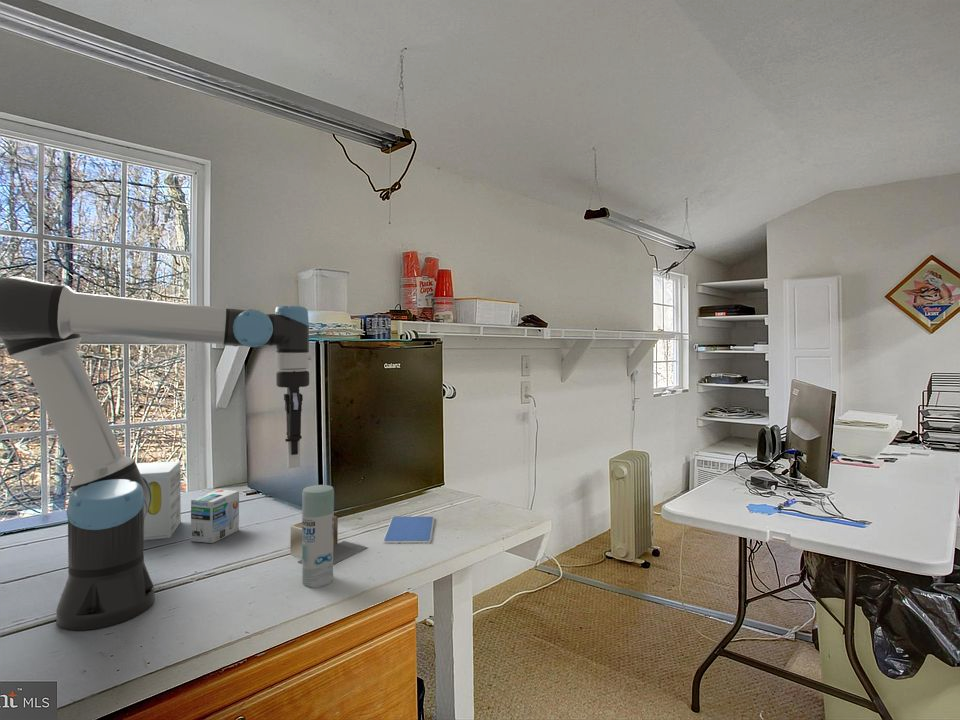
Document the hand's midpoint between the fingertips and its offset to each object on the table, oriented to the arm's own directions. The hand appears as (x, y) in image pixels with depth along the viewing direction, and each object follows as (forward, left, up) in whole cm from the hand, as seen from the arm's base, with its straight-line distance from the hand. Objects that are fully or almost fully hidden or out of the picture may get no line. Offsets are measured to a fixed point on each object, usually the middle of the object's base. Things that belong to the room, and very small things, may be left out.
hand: (293, 466), depth 127 cm
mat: (+4, -10, -21) cm, 23 cm away
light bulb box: (-3, +26, -21) cm, 34 cm away
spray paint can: (-8, -17, -21) cm, 28 cm away
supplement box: (-11, +43, -21) cm, 49 cm away
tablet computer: (+27, -15, -22) cm, 38 cm away
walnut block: (-2, -3, -17) cm, 18 cm away
